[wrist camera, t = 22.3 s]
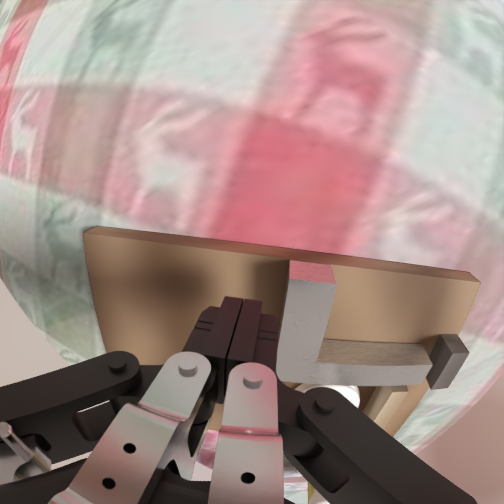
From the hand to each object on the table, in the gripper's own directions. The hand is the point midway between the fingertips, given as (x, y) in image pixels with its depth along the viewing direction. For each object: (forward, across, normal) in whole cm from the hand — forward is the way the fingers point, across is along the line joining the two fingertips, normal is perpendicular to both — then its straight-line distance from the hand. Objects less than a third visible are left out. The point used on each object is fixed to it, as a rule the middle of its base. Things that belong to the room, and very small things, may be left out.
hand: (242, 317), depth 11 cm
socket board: (+4, -2, +6) cm, 8 cm away
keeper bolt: (+3, -6, +1) cm, 7 cm away
